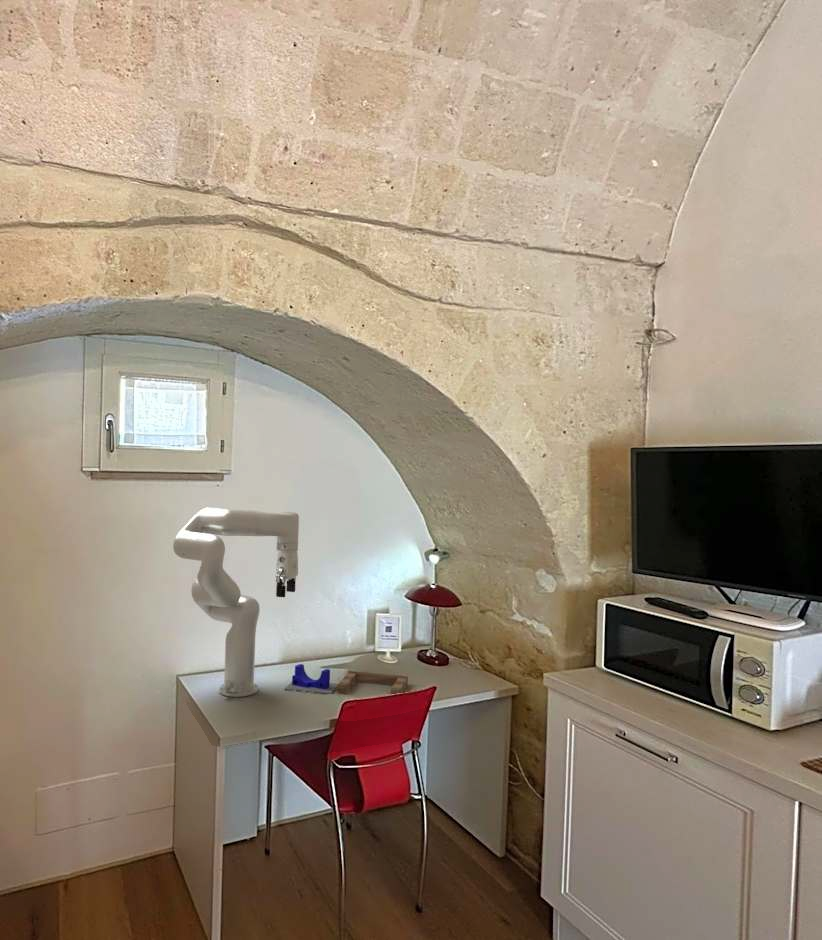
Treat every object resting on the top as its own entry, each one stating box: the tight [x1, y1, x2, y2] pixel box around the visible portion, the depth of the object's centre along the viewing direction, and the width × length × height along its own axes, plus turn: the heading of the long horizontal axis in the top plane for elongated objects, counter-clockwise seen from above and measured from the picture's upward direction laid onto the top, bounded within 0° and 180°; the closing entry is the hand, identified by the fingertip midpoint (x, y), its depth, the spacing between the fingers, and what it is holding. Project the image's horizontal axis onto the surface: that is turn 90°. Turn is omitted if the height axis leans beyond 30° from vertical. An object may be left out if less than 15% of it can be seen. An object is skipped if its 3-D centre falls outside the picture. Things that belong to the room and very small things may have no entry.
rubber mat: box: [284, 681, 338, 695], centre depth 246 cm, size 10×16×1 cm, turn 80°
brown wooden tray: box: [336, 670, 409, 695], centre depth 247 cm, size 16×21×3 cm
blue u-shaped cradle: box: [291, 663, 331, 690], centre depth 246 cm, size 12×4×6 cm, turn 65°
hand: (285, 594), depth 261 cm, fingers open, 9 cm apart
